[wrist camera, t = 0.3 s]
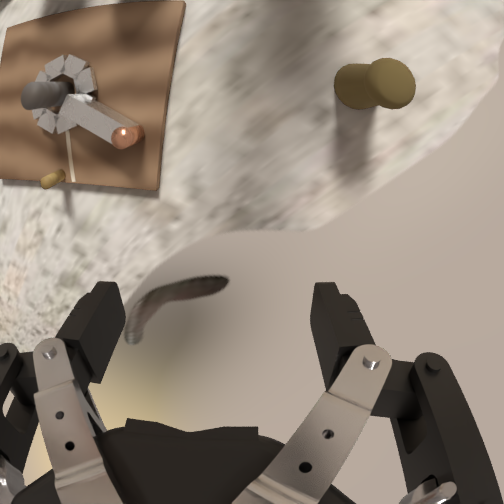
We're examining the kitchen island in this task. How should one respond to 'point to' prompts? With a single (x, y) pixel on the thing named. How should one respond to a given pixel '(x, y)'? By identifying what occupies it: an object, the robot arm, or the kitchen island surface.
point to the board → (109, 93)
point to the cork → (375, 84)
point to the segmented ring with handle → (84, 106)
